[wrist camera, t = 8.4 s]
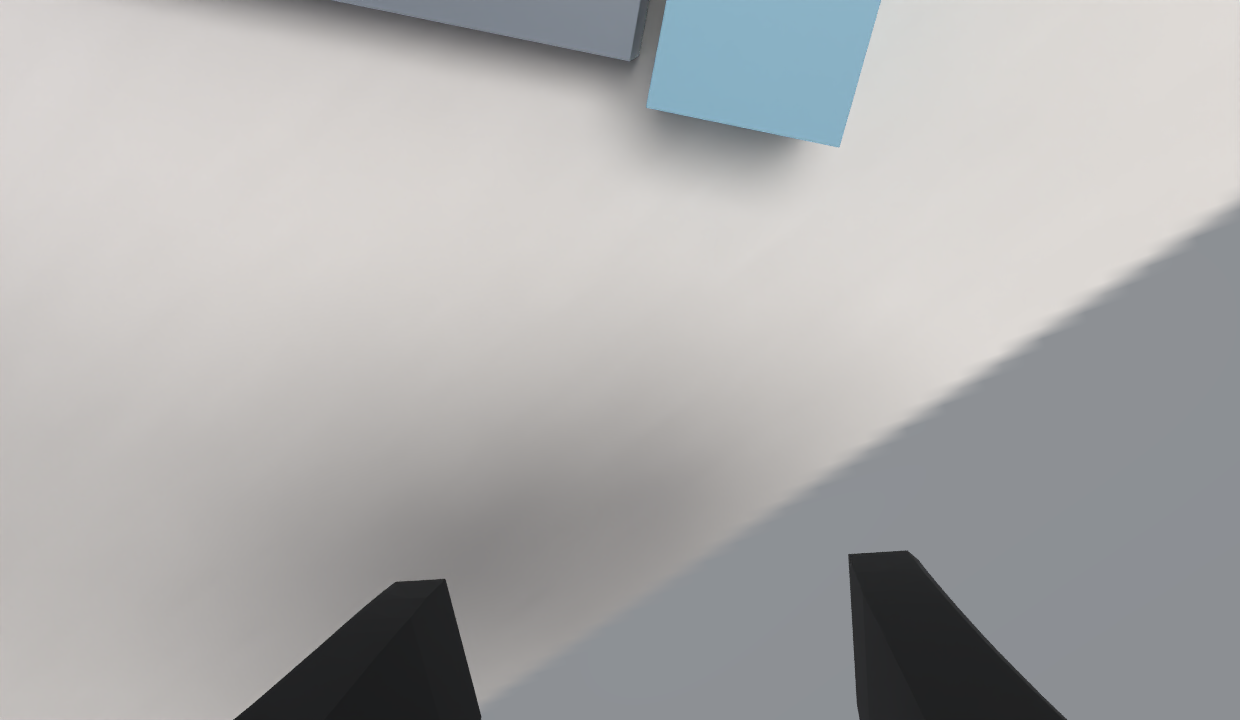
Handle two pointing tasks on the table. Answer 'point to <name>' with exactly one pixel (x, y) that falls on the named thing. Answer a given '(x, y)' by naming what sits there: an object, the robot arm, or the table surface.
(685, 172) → the table surface
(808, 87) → the light blue rectangular block
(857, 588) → the robot arm
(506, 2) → the grey holder tray
